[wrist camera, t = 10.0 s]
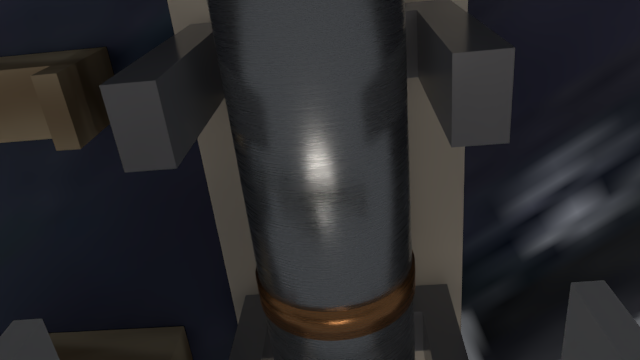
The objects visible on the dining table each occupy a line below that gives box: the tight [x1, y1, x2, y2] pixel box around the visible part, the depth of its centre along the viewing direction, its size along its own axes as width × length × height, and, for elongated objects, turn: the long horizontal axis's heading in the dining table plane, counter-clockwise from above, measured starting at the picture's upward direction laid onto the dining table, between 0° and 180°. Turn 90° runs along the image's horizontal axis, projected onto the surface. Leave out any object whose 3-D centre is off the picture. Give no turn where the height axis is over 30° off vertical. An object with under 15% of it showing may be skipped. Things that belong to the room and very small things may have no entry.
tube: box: [207, 0, 416, 360], centre depth 19 cm, size 22×6×6 cm, turn 6°
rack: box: [0, 47, 193, 360], centre depth 26 cm, size 19×9×4 cm, turn 6°
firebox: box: [99, 0, 515, 360], centre depth 21 cm, size 22×12×10 cm, turn 6°
